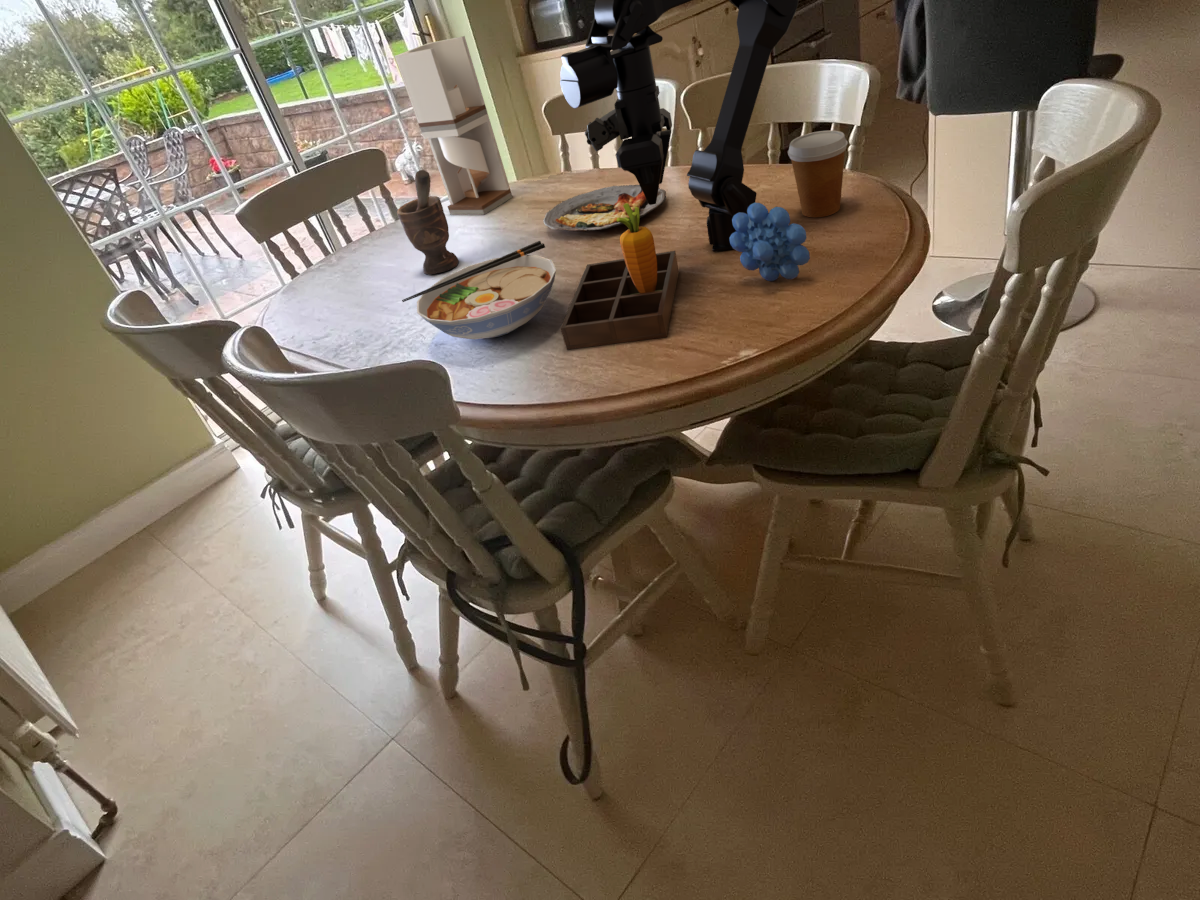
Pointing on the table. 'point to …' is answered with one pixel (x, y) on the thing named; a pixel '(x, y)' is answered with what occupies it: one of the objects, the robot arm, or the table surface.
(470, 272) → the ramen bowl
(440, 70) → the white wooden shelf
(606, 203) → the food plate
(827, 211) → the disposable coffee cup
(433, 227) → the mortar and pestle
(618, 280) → the wooden compartment organizer
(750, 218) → the grapes
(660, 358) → the table surface
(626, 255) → the carrot
